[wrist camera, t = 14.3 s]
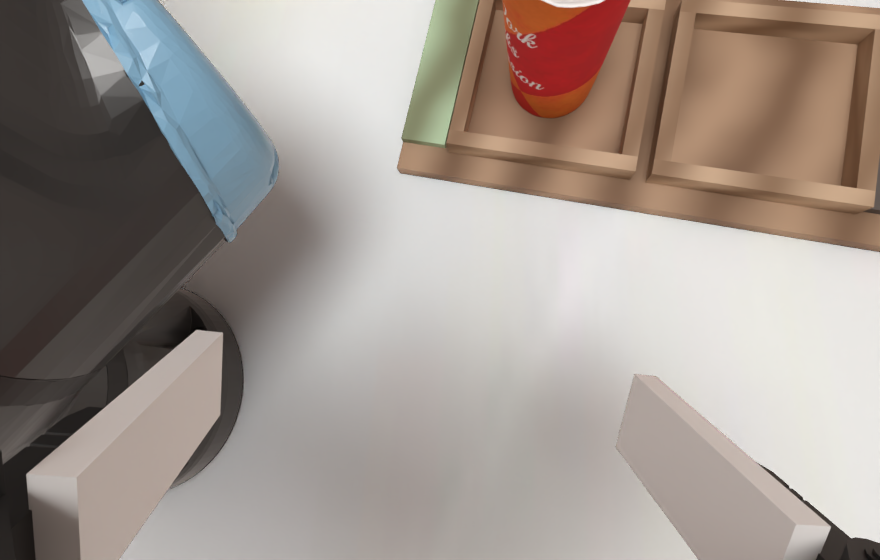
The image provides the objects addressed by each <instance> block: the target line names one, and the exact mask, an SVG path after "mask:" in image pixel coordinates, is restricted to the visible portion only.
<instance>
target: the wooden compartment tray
mask: <svg viewBox="0 0 880 560" xmlns="http://www.w3.org/2000/svg"><path fill="white" fill-rule="evenodd" d="M402 140H403V145H402V150H401V154H400V158H399V162H398V166H397V168H398V170H399V172H400V173H404V174H410V175H416V176H422V177H428V178H434V179H440V180H446V181H452V182H458V183H465V184H471V185H477V186H483V187H489V188H495V189H501V190H507V191H513V192H519V193H525V194H531V195H538V196H544V197H550V198H556V199H562V200H568V201H574V202H580V203H586V204H592V205H598V206H605V207H611V208H617V209H623V210H629V211H635V212H641V213H647V214H653V215H659V216H665V217H671V218H678V219H684V220H690V221H696V222H702V223H708V224H714V225H720V226H726V227H732V228H738V229H745V230H751V231H757V232H763V233H769V234H775V235H781V236H787V237H793V238H799V239H805V240H811V241H818V242H824V243H830V244H836V245H842V246H848V247H854V248H860V249H866V250H872V251H878V252H880V8H869V7H857V6H845V5H833V4H821V3H809V2H797V1H785V0H631V1H630V3H629V5H628V7H627V10H626V12H625V14H624V17H623V19H622V21H621V24H620V26H619V28H618V30H617V33H616V35H615V37H614V40H613V42H612V44H611V46H610V49H609V51H608V53H607V55H606V58H605V60H604V62H603V64H602V67H601V69H600V71H599V73H598V75H597V78H596V80H595V82H594V84H593V86H592V88H591V90H590V92H589V94H588V96H587V97H586V99H585V100H584V102H583V103H582V104H581V105H580V106H579V107H578V108H577V109H576V110H574V111H573V112H571V113H569V114H567V115H565V116H561V117H557V118H542V117H538V116H535V115H532V114H530V113H529V112H527V111H526V110H524V109H523V108H522V107H521V106H520V105H519V103H518V102H517V100H516V98H515V96H514V94H513V90H512V86H511V79H510V72H509V63H508V53H507V43H506V34H505V24H504V13H503V3H502V0H436V1H435V5H434V9H433V13H432V17H431V21H430V25H429V29H428V33H427V37H426V41H425V45H424V49H423V53H422V57H421V61H420V65H419V70H418V74H417V78H416V82H415V86H414V90H413V94H412V98H411V102H410V106H409V110H408V114H407V118H406V122H405V126H404V130H403V134H402Z"/></svg>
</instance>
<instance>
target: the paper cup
mask: <svg viewBox="0 0 880 560" xmlns="http://www.w3.org/2000/svg"><path fill="white" fill-rule="evenodd" d="M630 1H631V0H502V3H503V13H504V24H505V34H506V43H507V53H508V63H509V72H510V79H511V86H512V90H513V94H514V96H515V98H516V100H517V102H518V103H519V105H520V106H521V107H522V108H523V109H524V110H526V111H527V112H529V113H530V114H532V115H535V116H538V117H542V118H557V117H561V116H565V115H567V114H569V113H571V112H573V111H574V110H576V109H577V108H578V107H579V106H580V105H581V104H582V103H583V102H584V100H585V99H586V97H587V96H588V94H589V92H590V90H591V88H592V86H593V84H594V82H595V80H596V78H597V75H598V73H599V71H600V69H601V67H602V64H603V62H604V60H605V58H606V55H607V53H608V51H609V49H610V46H611V44H612V42H613V40H614V37H615V35H616V33H617V30H618V28H619V26H620V24H621V21H622V19H623V17H624V14H625V12H626V10H627V7H628V5H629V3H630Z"/></svg>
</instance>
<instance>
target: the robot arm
mask: <svg viewBox="0 0 880 560" xmlns="http://www.w3.org/2000/svg"><path fill="white" fill-rule="evenodd" d="M278 173H279V160H278V155H277V152H276V149H275V147H274V145H273V143H272V141H271V139H270V138H269V136H268V135H267V134H266V132H265V131H264V129H263V128H262V127H261V125H260V124H259V122H258V121H257V120H256V118H255V117H254V116H253V114H252V113H251V112H250V111H249V109H248V108H247V107H246V105H245V104H244V103H243V102H242V100H241V99H240V98H239V96H238V95H237V94H236V93H235V91H234V90H233V89H232V88H231V86H230V85H229V84H228V83H227V82H226V80H225V79H224V78H223V77H222V75H221V74H220V73H219V72H218V70H217V69H216V68H215V67H214V65H213V64H212V63H211V62H210V61H209V59H208V58H207V57H206V56H205V55H204V54H203V52H202V51H201V50H200V49H199V48H198V46H197V45H196V44H195V43H194V42H193V40H192V39H191V38H190V37H189V36H188V34H187V33H186V32H185V31H184V30H183V28H182V27H181V26H180V25H179V24H178V23H177V21H176V20H175V19H174V18H173V17H172V16H171V15H170V13H169V12H168V11H167V10H166V9H165V8H164V7H163V5H162V4H161V3H160V2H159V1H158V0H0V560H119V559H120V557H121V556H122V554H123V553H124V551H125V550H126V549H127V547H128V546H129V544H130V543H131V541H132V540H133V539H134V537H135V536H136V534H137V533H138V531H139V530H140V529H141V527H142V526H143V524H144V523H145V521H146V520H147V519H148V517H149V516H150V514H151V513H152V511H153V510H154V509H155V507H156V506H157V504H158V503H159V501H160V500H161V499H162V497H163V496H164V494H165V493H166V491H167V490H168V489H170V488H173V487H175V486H177V485H179V484H181V483H183V482H185V481H187V480H188V479H190V478H192V477H193V476H194V475H196V474H197V473H198V472H200V471H201V470H202V469H203V468H204V467H205V466H206V465H207V464H208V463H209V462H210V461H211V460H212V459H213V458H214V457H215V456H216V454H217V453H218V452H219V450H220V449H221V448H222V446H223V444H224V443H225V441H226V439H227V438H228V436H229V434H230V432H231V430H232V427H233V425H234V423H235V420H236V417H237V414H238V410H239V406H240V401H241V396H242V384H243V375H242V363H241V358H240V353H239V349H238V346H237V343H236V340H235V338H234V335H233V333H232V331H231V329H230V328H229V326H228V324H227V323H226V321H225V320H224V318H223V317H222V316H221V315H220V313H219V312H218V311H217V310H216V309H215V308H214V307H213V306H212V305H210V304H209V303H208V302H207V301H205V300H204V299H202V298H201V297H199V296H197V295H196V294H194V293H191V292H189V291H186V290H183V289H180V288H181V287H182V286H183V285H184V284H185V283H186V282H187V281H188V280H189V278H190V277H191V276H192V275H193V274H194V273H195V272H196V271H197V270H198V269H199V268H200V267H201V266H202V265H203V264H204V263H205V262H206V261H207V260H208V259H209V258H210V257H211V256H212V255H213V254H214V252H215V251H216V250H217V249H218V248H219V247H220V246H221V245H222V244H223V243H224V242H225V241H227V242H229V243H231V242H232V241H233V240H234V239H235V237H236V236H237V228H238V227H239V226H240V225H241V224H242V223H243V222H244V221H245V219H246V218H247V217H248V216H249V215H250V214H251V213H252V211H253V210H254V209H255V208H256V207H257V206H258V205H259V203H260V202H261V201H262V200H263V199H264V198H265V197H266V195H267V194H268V193H269V192H270V191H271V189H272V188H273V186H274V184H275V182H276V180H277V177H278ZM615 447H616V449H617V450H618V451H619V453H620V454H621V455H622V457H623V458H624V459H625V461H626V462H627V463H628V465H629V466H630V468H631V469H632V470H633V472H634V473H635V474H636V476H637V477H638V478H639V480H640V481H641V482H642V484H643V485H644V486H645V488H646V489H647V491H648V492H649V493H650V495H651V496H652V497H653V499H654V500H655V501H656V503H657V504H658V505H659V507H660V508H661V509H662V511H663V512H664V514H665V515H666V516H667V518H668V519H669V520H670V522H671V523H672V524H673V526H674V527H675V528H676V530H677V531H678V532H679V534H680V535H681V537H682V538H683V539H684V541H685V542H686V543H687V545H688V546H689V547H690V549H691V550H692V551H693V553H694V554H695V555H696V557H697V558H698V559H699V560H880V543H877V542H874V541H871V540H868V539H862V538H852V539H851V538H850V537H849V536H847V535H846V534H845V533H844V532H843V531H842V530H840V529H839V528H838V527H837V526H836V525H834V524H833V523H832V522H831V521H830V520H829V519H827V518H826V517H825V516H824V515H823V514H822V513H820V512H819V511H818V510H817V509H816V508H814V507H813V506H812V505H811V504H810V503H809V502H807V501H804V500H803V497H801V496H800V495H799V494H798V493H797V492H796V491H794V490H793V489H790V488H789V486H788V485H787V484H786V483H785V482H784V481H783V480H781V479H780V478H779V477H778V476H777V475H776V474H774V473H773V472H772V471H770V470H768V469H767V468H765V467H763V466H762V465H760V464H758V463H757V462H755V461H754V460H753V459H752V458H751V457H749V456H748V455H747V454H746V453H745V452H744V451H742V450H741V449H740V448H739V447H738V446H737V445H735V444H734V443H733V442H732V441H731V440H730V439H729V438H727V437H726V436H725V435H724V434H723V433H722V432H720V431H719V430H718V429H717V428H716V427H715V426H713V425H712V424H711V423H710V422H709V421H708V420H706V419H705V418H704V417H703V416H702V415H701V414H699V413H698V412H697V411H696V410H695V409H694V408H692V407H691V406H690V405H689V404H688V403H687V402H685V401H684V400H683V399H682V398H681V397H680V396H678V395H677V394H676V393H675V392H674V391H673V390H671V389H670V388H669V387H668V386H667V385H666V384H665V383H663V382H662V381H661V380H660V379H659V378H658V377H656V376H649V375H639V374H634V378H633V382H632V385H631V389H630V393H629V397H628V401H627V404H626V408H625V412H624V416H623V420H622V423H621V427H620V431H619V435H618V439H617V442H616V446H615Z"/></svg>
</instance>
